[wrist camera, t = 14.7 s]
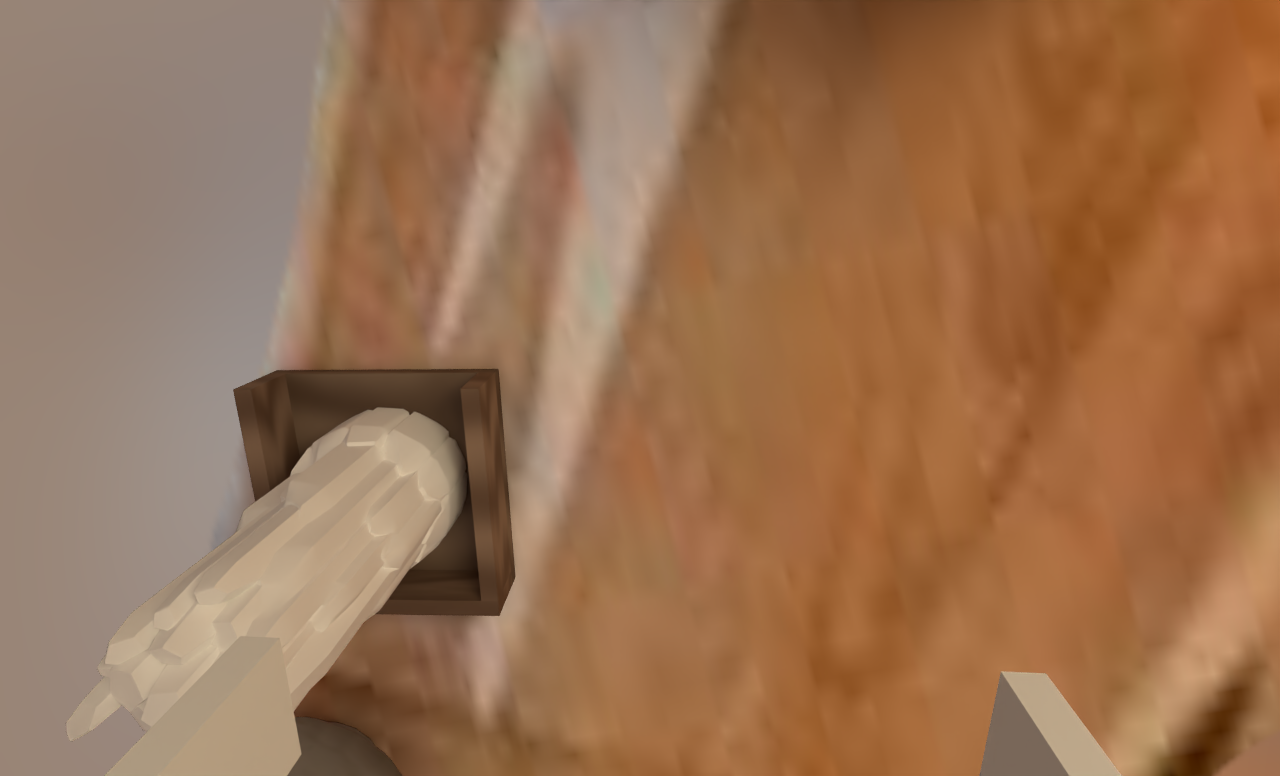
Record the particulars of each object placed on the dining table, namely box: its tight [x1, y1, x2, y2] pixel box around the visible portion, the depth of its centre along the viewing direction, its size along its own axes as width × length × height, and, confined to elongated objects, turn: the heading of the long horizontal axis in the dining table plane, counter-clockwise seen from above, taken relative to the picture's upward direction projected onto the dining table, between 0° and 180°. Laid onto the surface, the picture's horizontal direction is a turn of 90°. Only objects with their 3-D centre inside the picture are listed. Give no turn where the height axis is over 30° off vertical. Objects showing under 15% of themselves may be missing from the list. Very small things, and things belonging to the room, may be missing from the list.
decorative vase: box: [66, 407, 467, 742], centre depth 37 cm, size 11×11×25 cm
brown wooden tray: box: [233, 369, 515, 616], centre depth 48 cm, size 17×16×5 cm
